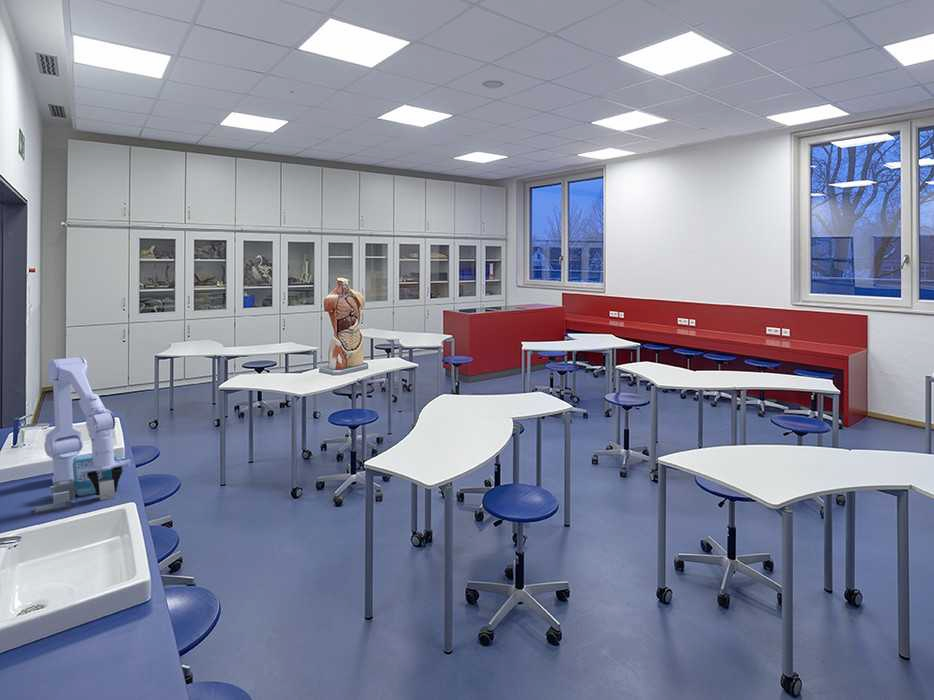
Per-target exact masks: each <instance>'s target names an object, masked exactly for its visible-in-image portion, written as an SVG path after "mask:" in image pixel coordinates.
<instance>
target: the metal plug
mask: <svg viewBox="0 0 934 700" xmlns="http://www.w3.org/2000/svg"><path fill="white" fill-rule="evenodd" d="M98 486H99V494H100V495H97V496H98V497H97V498H98V499H99V501H101V502H102V500H103V501H107V500H112V499H115V498H116V492H115V490H114V479H113V478H112V476H110V477H105V478H100V479H98Z"/></svg>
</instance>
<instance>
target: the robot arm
mask: <svg viewBox="0 0 934 700" xmlns="http://www.w3.org/2000/svg"><path fill="white" fill-rule="evenodd" d="M87 374H88V362H87V360H86V358H84V357H83V356H77V357H68V358H66V357H65V358H58V359H52V358H51V359H50V360H49V361H48V362H47V364H46V379H47V381H48V382H50V383H52V386H53V387H52V388H53V389H52V390H53V409H54V428H53V429H52V430H50V431H49V432H47V433H46V434H45V442H44V451H45V454H46V455H47V457H49V458H51V459H52V469H53V470H52V471H53V476H52V477H51V481H52V484H53V485H54V482H58V481H64V480H69V479H73V481H74V477H73V466H72V464H73V459H74V458H75V457H77V456H79V455H78V454H81V453H80V452H81V451H82V450H83V448H84V440H83V436H82V431H81V430H80V429H78V428H76V427H74V426H73V424H74V423H73V422H74V421H73V406H72V405H73V403H72V388H73V389H74V391H75V392H76V394H77V395H78V397H79V398H80V399H79V400H78V404H79V407H80V409H81V410H82V413H83V415H84V417H85V418H86V419H85V426H86V429H87V432H88V436H89V439H90V440H91V441H90V442H91V454H92V455H93V465H89V466H85V467H81V468H77V469H76V470H77V476H81V475H83V474H87V475H88V477H89V479H90V480H91V481H92V483H93V485H94V488H95V491H96V493H95V494H96V496H98V495H100V494H99V486H98V475H97V472H99V471H105V470H112V478H113V479H114V490H115V493H116V492H118V491H117V490H118V488H117V485H118V486H119V481H120V478H121V476H122V474H123V472H124V471H123V468H129V467H132V460H131V459H130V458H128V459H123V460H122V459H121V460H117V461H114V453H115V452H114V450H115V449H114V438H113V430H114V429H115V427H116V418H115V416H114V413H113V412H112V411H111V410H109V408H106V407H105V405H104V404H103V402H102V400H101V398H100V396H99V394H96V393H93V390H92V388H91V386H90V382H89V380H88V378H87Z"/></svg>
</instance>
